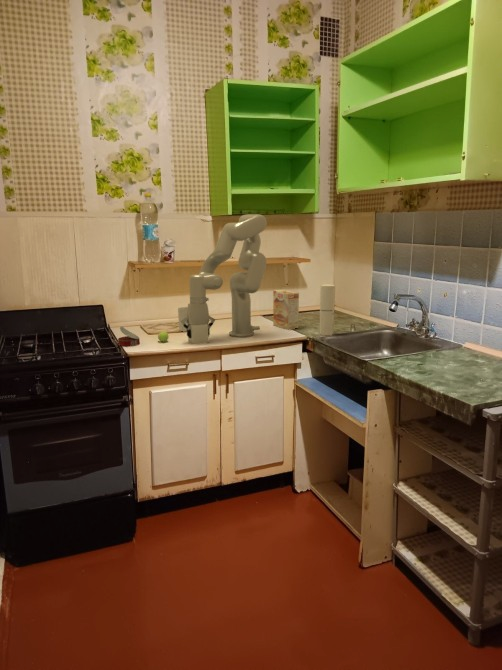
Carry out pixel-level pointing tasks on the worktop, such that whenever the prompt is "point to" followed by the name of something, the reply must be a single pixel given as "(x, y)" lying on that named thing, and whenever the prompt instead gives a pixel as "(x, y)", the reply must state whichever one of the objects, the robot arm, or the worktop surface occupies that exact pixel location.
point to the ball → (163, 336)
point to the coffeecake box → (285, 309)
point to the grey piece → (199, 334)
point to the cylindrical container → (327, 309)
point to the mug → (181, 315)
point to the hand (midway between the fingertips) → (198, 336)
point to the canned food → (128, 338)
